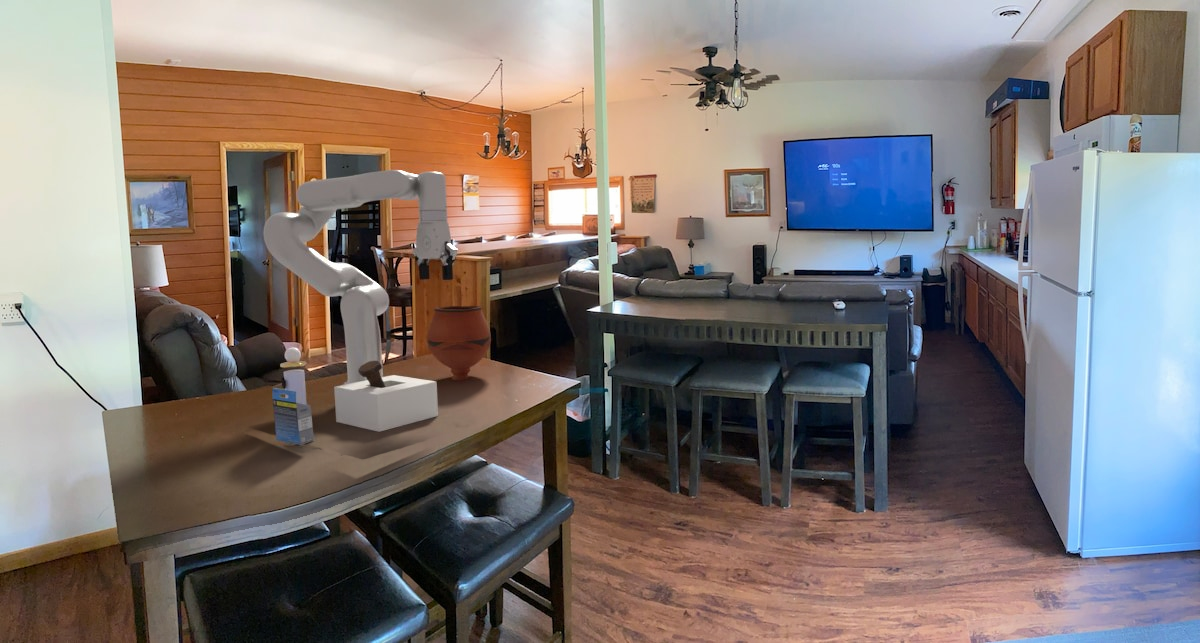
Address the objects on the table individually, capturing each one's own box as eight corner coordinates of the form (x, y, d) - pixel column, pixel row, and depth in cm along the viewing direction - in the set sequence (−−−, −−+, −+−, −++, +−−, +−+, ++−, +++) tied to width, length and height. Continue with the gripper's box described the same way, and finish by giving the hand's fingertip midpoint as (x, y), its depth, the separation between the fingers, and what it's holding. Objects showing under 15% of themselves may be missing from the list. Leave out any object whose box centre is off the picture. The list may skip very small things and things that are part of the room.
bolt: (392, 421, 174) (369, 372, 168) (376, 421, 176) (353, 372, 170) (405, 408, 179) (383, 359, 172) (390, 407, 181) (368, 359, 174)
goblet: (505, 385, 216) (502, 305, 213) (454, 396, 201) (451, 311, 199) (466, 378, 228) (463, 303, 225) (417, 388, 214) (413, 308, 211)
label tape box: (314, 441, 157) (311, 387, 156) (299, 445, 154) (295, 391, 152) (290, 436, 161) (286, 384, 160) (274, 440, 158) (270, 387, 157)
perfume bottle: (310, 424, 172) (305, 344, 170) (310, 429, 167) (305, 348, 164) (285, 427, 170) (279, 346, 167) (284, 432, 164) (278, 349, 162)
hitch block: (336, 421, 174) (334, 386, 173) (395, 407, 188) (393, 375, 187) (379, 431, 164) (377, 394, 163) (438, 415, 178) (436, 381, 177)
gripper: (402, 218, 193) (405, 279, 195) (443, 216, 183) (446, 280, 185) (423, 219, 199) (426, 278, 201) (464, 216, 189) (467, 279, 191)
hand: (436, 279), depth 193 cm, fingers open, 9 cm apart
